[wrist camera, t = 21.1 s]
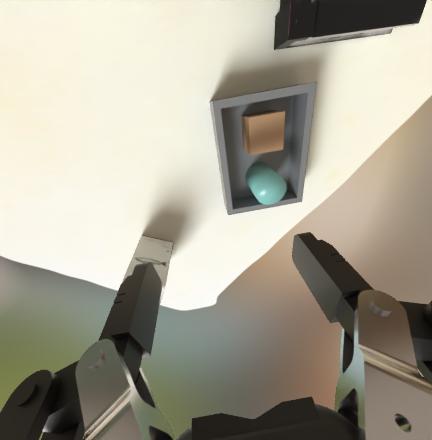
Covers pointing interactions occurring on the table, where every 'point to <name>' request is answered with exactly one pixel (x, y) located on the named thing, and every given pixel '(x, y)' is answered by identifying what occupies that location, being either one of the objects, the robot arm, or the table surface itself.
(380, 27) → the book
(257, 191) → the cylinder
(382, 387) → the robot arm
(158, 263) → the supplement box
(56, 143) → the table surface
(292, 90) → the tote
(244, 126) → the cube
